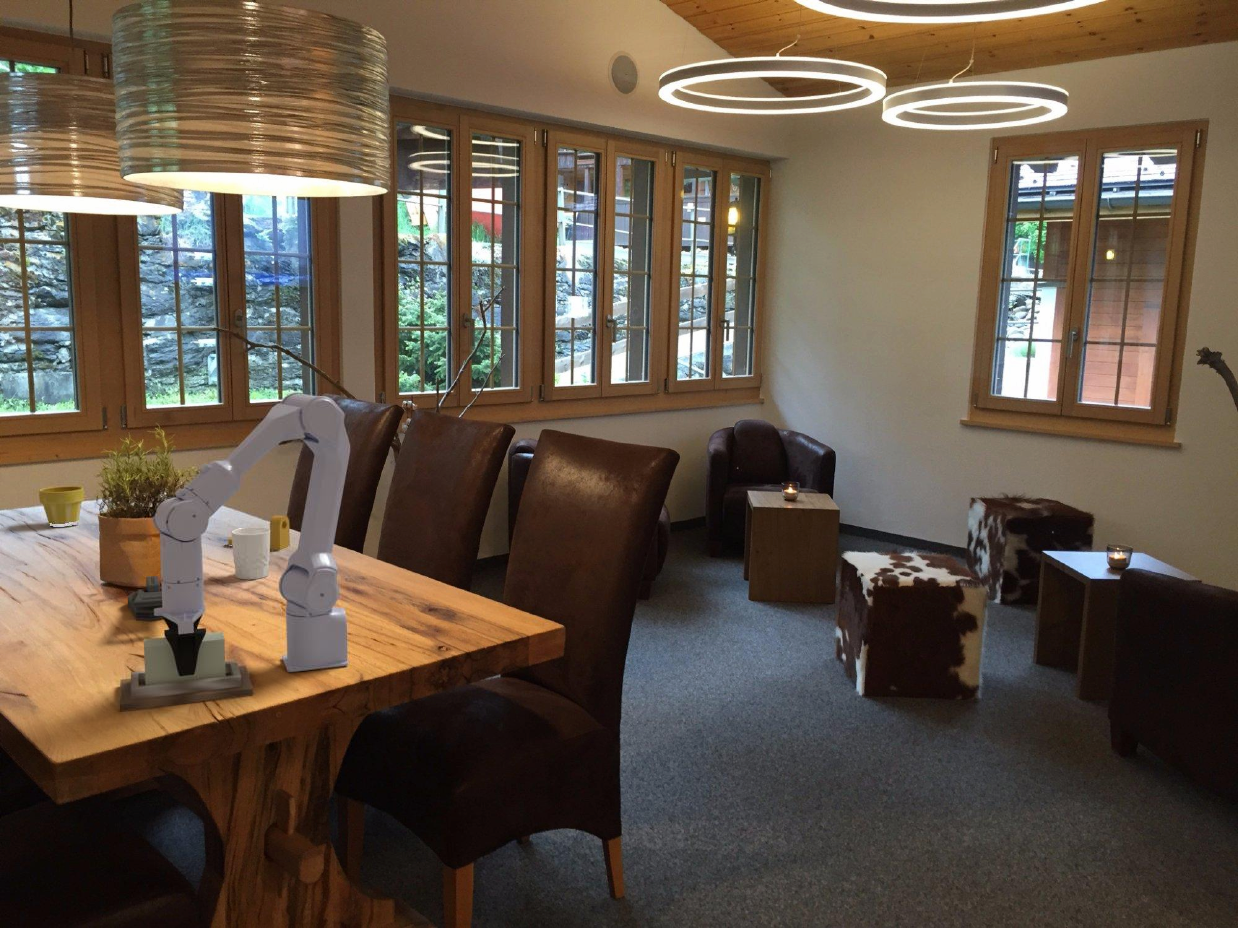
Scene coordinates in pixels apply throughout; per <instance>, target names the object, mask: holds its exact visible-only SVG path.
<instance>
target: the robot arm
mask: <svg viewBox="0 0 1238 928" xmlns="http://www.w3.org/2000/svg"><path fill="white" fill-rule="evenodd" d="M345 416H346V414H345V413H344V411H343V410H342V409H341V408H340V406H339V405H338V404H337V403H336V401H334V400H333V399H332V398H330V397H328V396H325V395H321V396H320V395H318V396H317V395H311V394H305V393H303V392H298V391H297V392H291V393H289V394H287V395H285V396H284V398H282V400H280V403H279V402H278V403H277V404H275V405H274V406H272V407H271V409H270V410H269V412H268V413H267V414H266V416H265V417H264V418H263V419H262V421H260V423H258V425H257V426H255V428H254V429H253V430H252V431H251V432H250V433H248V435H247V436H246V438H244V440H243V441H241V442H240V444H239V445H238V446H237V447H236V448H234V450H233V451H232V452H231V453H230V454H229V455H228V457H227V458H225V459H223V460H212V461H211V462H210V463H209V464H207V463H203V464H201V465H200V466H199V467H198V471H199V473H198V474H196V476H194V478H193V479H191V481H190V482H188V483H187V484H186V485H185V486H184V487H182V488H177V490H176V491H175V492H174V494H175V496H176V497H171V498H167V499H165V500H164V501H162V502H161V503H160V504H159V505H158V507H157V508H156V510H155V511H156V512H155V514H154V516H153V517H152V518H151V519H152V523H153V526H154V527H155V529H156V530H157V532H159V538H160V540H159V543H160V549H159V550H160V551H159V552H160V553H159V554H160V576H161V577H160V578H161V580H160V581H161V588H162V606H163V607H162V608H155V609H154V615H155V616H163V619H164V620H163V621H164V623H165V624H166V626H167V628H168V629H164V631H163V635H164V637H165V638H166V639H167V641H168V642H169V644H170V646H171V648H172V651H173V654H174V658H175V662H176V667H177V671H178V674H179V676H188V675H194V674H195V670H196V665H197V659H198V653H199V649H200V645H201V643H202V640H203V638H204V637H205V634H206V633H207V628H205V627H203V628H198V627H199V625H200V621H201V619H202V618H203V614H204V613H205V612H206V604H205V600H204V599H205V594H204V569H203V568H204V565H203V547H202V546H203V545H202V535H204V534H205V533H206V531H207V529H208V527H209V520H210V518H212V516H213V515H214V514H216V512H218V510H220V508H221V507H223V506H224V505H225V504H226V503H227V501H228V500H230V499H231V498H232V497H233V496H234V495H235V494H236V493H237V492H238V491H239V490H240V489H241V487H242V482H243V475H244V474H245V473H247V471H249V470H250V469H252V467H254V466H255V465H256V464H257V463H258V462H259V461H260V460H261V459H263V458H264V457H265V456H266V455H267V454H268V453H269V452H271V451H272V450H273V449H274V448H275V447H276V446H278V444H280V443H282V442H285V441H292V440H298V439H302V440H303V442H304V443H305V444H306V445H307V447H308V448H309V449H310V451H312V452H313V455H314V457H313V462H312V468H311V471H310V478H309V484H308V490H307V493H306V494H307V495H306V499H305V504H304V505H305V506H304V513H303V517H302V522H301V528H300V534H299V540H298V545H297V549H296V550H295V551H294V552H292V554H291V555H290V556H289V558H288V562H287V565H286V568H285V570H284V571H283V572H282V574H281V576H280V578H279V580H278V591H279V594H280V595H281V597H282V598H283V599H284V600H286V601H285V602H286V607H285V610H286V611H285V618H286V619H285V620H286V621H285V622H286V627H285V628H286V629H285V631H286V654H282V655H281V659H282V661H283V664H284V665H285V668H286V671H287V672H288V673H295V672H302V671H310V670H311V671H312V670H320V669H329V668H337V667H345V666H349V661H348V660H349V659H348V624H347V622H348V620H347V615H346V611H345V609H344V607H341V606H340V607H339V606H338V607H335V605H336V604H337V602H338V599H339V596H340V587H339V584H338V572H339V569H338V566H337V564H336V562H335V559H334V557H333V549H334V543H335V537H336V532H337V526H338V521H339V515H340V509H341V504H342V499H343V495H344V494H343V493H344V487H345V481H346V475H347V472H348V471H347V470H348V465H349V461H350V460H349V459H350V454H351V444H350V441H349V440H350V439H349V436H348V433H347V430H346V429H347V428H346V426H345V423H344V421H345Z"/></svg>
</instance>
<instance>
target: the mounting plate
mask: <svg viewBox="0 0 1238 928" xmlns="http://www.w3.org/2000/svg"><path fill="white" fill-rule="evenodd" d="M225 672H226V676H225V677H216V678H208V679H199V680H191V681H182V682H174V683H165V684H157V685H148V686H146V683H145V670H138V671H130V678H125V679H120V682H119V683H120V686H119V687H120V688H119V712H125V711H126V712H127V711H134V710H135V711H136V710H141V709H142V710H144V709H151V708H158V707H167V706H174V705H182V704H191V703H198V702H206V701H214V700H215V701H216V700H222V699H232V698H239V697H245V696H246V697H247V696H253V695H254V688H253V684H252V681H251V678H250V674H249V670H248V667H247V665H238V661H237V660H229V661H228V660H227V661H226V660H225Z"/></svg>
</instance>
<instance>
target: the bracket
mask: <svg viewBox="0 0 1238 928" xmlns="http://www.w3.org/2000/svg"><path fill="white" fill-rule="evenodd" d="M269 529H270V549H271V550H270V551H273V550H282V549H284V548H287V547H288V546H290V547H291V543H290V538H291V537H290V520H289V517H288V516H286V515H272V517H271V519H270V521H269ZM227 543H228V545H232V536H230V537H228V538H227ZM228 545H227V546H228ZM287 549H288V548H287ZM284 550H285V549H284ZM282 551H283V550H282Z"/></svg>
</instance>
